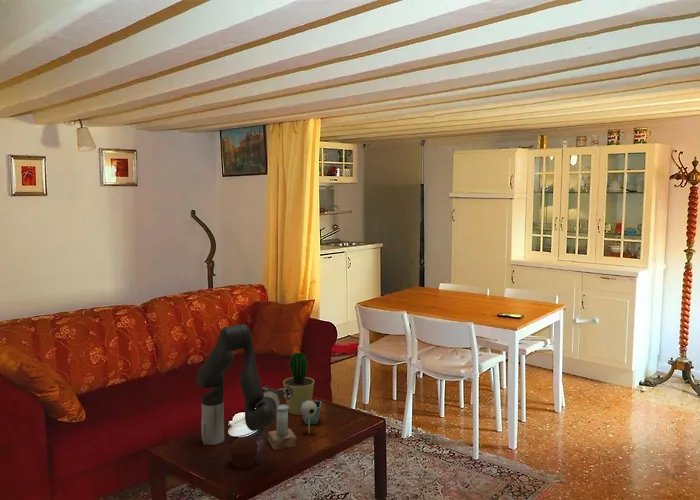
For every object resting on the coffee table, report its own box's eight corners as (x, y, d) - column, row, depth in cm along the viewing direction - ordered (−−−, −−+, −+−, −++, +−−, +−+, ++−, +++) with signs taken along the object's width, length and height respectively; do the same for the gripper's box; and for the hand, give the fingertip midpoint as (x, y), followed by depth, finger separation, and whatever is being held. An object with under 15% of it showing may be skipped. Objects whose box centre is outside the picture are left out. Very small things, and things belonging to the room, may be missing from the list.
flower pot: (320, 426, 270) (320, 407, 269) (301, 426, 270) (301, 407, 269) (321, 419, 279) (321, 400, 278) (303, 418, 279) (302, 400, 278)
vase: (277, 437, 247) (277, 409, 246) (274, 432, 252) (274, 405, 251) (290, 435, 249) (290, 408, 248) (286, 430, 254) (286, 403, 253)
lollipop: (304, 438, 257) (304, 404, 255) (298, 432, 263) (298, 399, 262) (319, 434, 260) (319, 402, 259) (313, 429, 266) (312, 397, 265)
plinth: (273, 450, 244) (273, 440, 244) (268, 440, 254) (267, 431, 253) (296, 446, 248) (296, 436, 248) (290, 437, 257) (290, 428, 257)
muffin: (244, 454, 241) (243, 430, 240) (264, 460, 235) (263, 436, 234) (222, 465, 231) (222, 440, 230) (243, 472, 225) (242, 447, 224)
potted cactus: (319, 407, 294) (319, 348, 292) (306, 418, 280) (306, 356, 277) (292, 403, 300) (291, 346, 297) (277, 413, 285) (277, 353, 283)
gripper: (287, 392, 222) (294, 378, 238) (250, 391, 222) (259, 378, 239) (288, 411, 222) (294, 396, 238) (251, 410, 223) (260, 396, 239)
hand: (277, 387), depth 239 cm, fingers open, 8 cm apart
